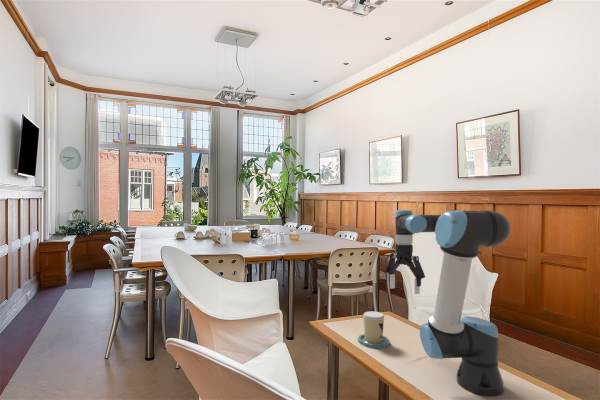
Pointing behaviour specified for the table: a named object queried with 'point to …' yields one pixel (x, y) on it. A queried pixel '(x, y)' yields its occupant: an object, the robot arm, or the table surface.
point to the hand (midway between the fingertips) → (404, 290)
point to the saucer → (381, 345)
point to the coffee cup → (373, 327)
